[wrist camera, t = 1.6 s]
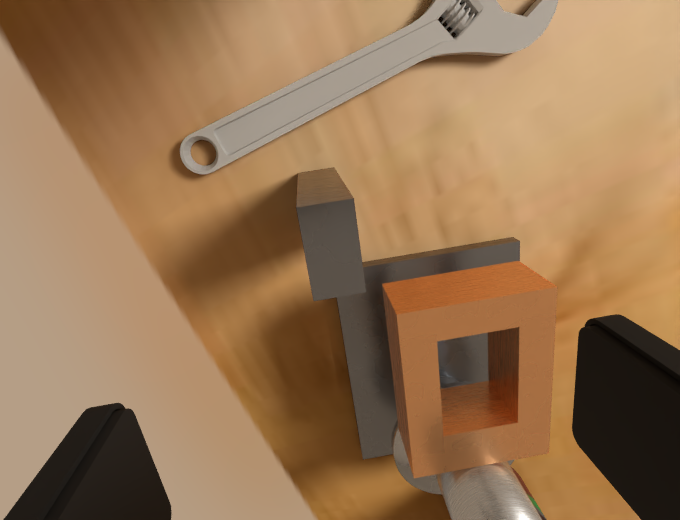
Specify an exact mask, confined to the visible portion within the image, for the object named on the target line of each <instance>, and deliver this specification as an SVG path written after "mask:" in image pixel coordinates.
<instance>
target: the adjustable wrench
mask: <svg viewBox="0 0 680 520" xmlns="http://www.w3.org/2000/svg"><path fill="white" fill-rule="evenodd" d="M460 3H461V5H460ZM557 3H558V0H536V1H535V2H534V3H533V4H532V5H531V6H530V8H529V9H528V10H527V11H526V12H525V13H524V14H523V15H522V16H521V15H517V14H513V13H510V12H506V11H504V10H503V9H502V8H501V6H500V5H499V3H498V2H497V1H496V0H433V1H432V2H431V4H430V6H429V7H428V9H427V10H426V11H425V13H424V14H423V15H422V16H421V17H420V18H419V19H418V20H416V21H415V22H413V23H411V24H410V25H408V26H406V27H404V28H402V29H400V30H398V31H396V32H394V33H392V34H390V35H388V36H386V37H384V38H382V39H380V40H378V41H376V42H374V43H372V44H370V45H368V46H366V47H364V48H362V49H360V50H358V51H356V52H354V53H352V54H350V55H348V56H346V57H344V58H342V59H340V60H338V61H336V62H334V63H332V64H330V65H328V66H326V67H324V68H322V69H320V70H318V71H316V72H314V73H312V74H310V75H308V76H306V77H304V78H302V79H300V80H298V81H296V82H294V83H292V84H290V85H288V86H286V87H284V88H282V89H280V90H278V91H276V92H274V93H272V94H270V95H268V96H266V97H264V98H262V99H260V100H258V101H256V102H254V103H252V104H250V105H248V106H246V107H244V108H242V109H240V110H238V111H236V112H234V113H232V114H230V115H228V116H226V117H224V118H222V119H220V120H218V121H216V122H214V123H212V124H210V125H208V126H206V127H204V128H202V129H200V130H198V131H196V132H194V133H192V134H190V135H188V136H187V137H186V138H185V139H184V140H183V142H182V143H181V147H180V157H181V159H182V161H183V163H184V165H185V166H186V167H187V168H188V169H189V170H191V171H192V172H194V173H197V174H209V173H212V172H214V171H216V170H217V169H219V168H221V167H223V166H225V165H227V164H229V163H231V162H232V161H234V160H236V159H238V158H240V157H242V156H244V155H246V154H247V153H249V152H251V151H253V150H255V149H257V148H259V147H261V146H262V145H264V144H266V143H268V142H270V141H272V140H274V139H276V138H277V137H279V136H281V135H283V134H285V133H287V132H289V131H291V130H292V129H294V128H296V127H298V126H300V125H302V124H304V123H306V122H308V121H309V120H311V119H313V118H315V117H317V116H319V115H321V114H323V113H324V112H326V111H328V110H330V109H332V108H334V107H336V106H338V105H339V104H341V103H343V102H345V101H347V100H349V99H351V98H353V97H354V96H356V95H358V94H360V93H362V92H364V91H366V90H368V89H369V88H371V87H373V86H375V85H377V84H379V83H381V82H383V81H385V80H386V79H388V78H390V77H392V76H394V75H396V74H398V73H400V72H401V71H403V70H405V69H407V68H409V67H411V66H413V65H415V64H416V63H418V62H420V61H423V60H425V59H428V58H433V57H438V56H448V55H484V56H503V55H507V54H510V53H513V52H517V51H520V50H522V49H524V48H526V47H528V46H529V45H531V44H532V43H533V42H534V41H535V40H537V39H538V38H539V37H540V36H541V35H542V34H543V32H544V31H545V29H546V28H547V27H548V25H549V23H550V21H551V19H552V17H553V15H554V13H555V11H556V7H557ZM464 8H465V10H464ZM468 13H469V15H468ZM440 16H441V17H442V18H443V20H442V22H441V23H440V22H439V21H438V19H439V17H440ZM444 22H446V23H447V26H446V27H445V28H444V27H443V25H442V24H443V23H444ZM448 27H450V28H451V31H450V32H448V31H447V30H446V29H447V28H448ZM452 32H455V34H456V35H455V36H454V37H452V36H451V35H450V34H451V33H452ZM198 140H206V141H209V142H210V143H212V145H213V146H214V147H215V150H216V159H215V160H214V162H213V163H212V164H210V165H207V166H202V165H199V164H197V163H196V162H195V161H194V160H193V159H192V156H191V152H190V150H191V146H192V145H193V143H195V142H196V141H198Z"/></svg>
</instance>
